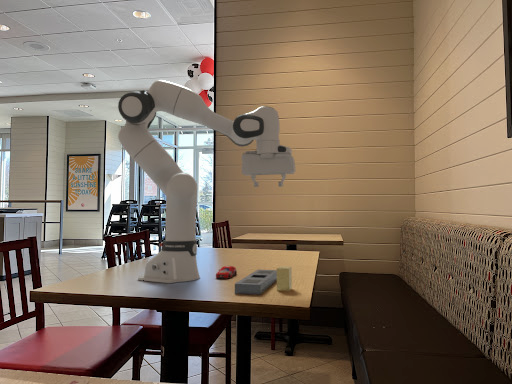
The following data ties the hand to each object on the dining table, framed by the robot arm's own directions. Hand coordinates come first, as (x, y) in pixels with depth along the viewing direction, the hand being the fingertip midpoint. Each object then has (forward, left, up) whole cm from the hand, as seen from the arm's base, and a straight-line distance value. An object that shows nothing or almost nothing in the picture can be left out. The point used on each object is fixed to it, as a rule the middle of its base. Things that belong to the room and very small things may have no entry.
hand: (268, 186), depth 141 cm
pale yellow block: (+9, -18, -34) cm, 40 cm away
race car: (-17, +1, -35) cm, 39 cm away
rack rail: (-1, -13, -34) cm, 36 cm away
